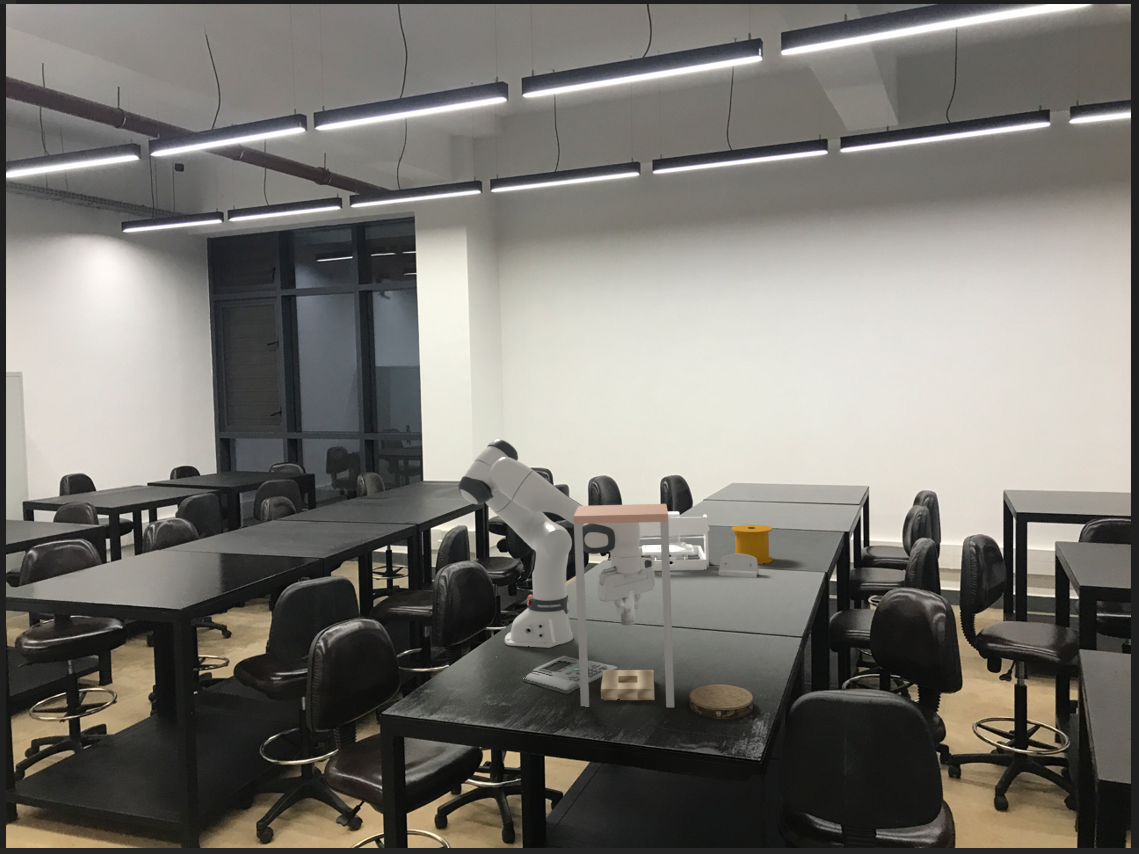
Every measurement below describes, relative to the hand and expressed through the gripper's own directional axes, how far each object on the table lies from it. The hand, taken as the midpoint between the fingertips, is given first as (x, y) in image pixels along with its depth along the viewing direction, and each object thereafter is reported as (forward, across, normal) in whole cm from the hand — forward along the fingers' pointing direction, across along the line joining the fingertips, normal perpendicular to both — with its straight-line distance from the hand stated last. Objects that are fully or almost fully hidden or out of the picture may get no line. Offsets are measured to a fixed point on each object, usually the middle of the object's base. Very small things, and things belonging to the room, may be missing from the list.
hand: (627, 611), depth 238 cm
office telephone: (+18, -16, +9) cm, 26 cm away
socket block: (+17, -12, -12) cm, 24 cm away
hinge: (+17, +112, +48) cm, 123 cm away
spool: (+17, +137, +60) cm, 151 cm away
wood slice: (+18, -3, -37) cm, 41 cm away
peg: (+4, 0, 0) cm, 4 cm away
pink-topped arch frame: (+17, -15, -14) cm, 27 cm away
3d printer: (+17, +110, +86) cm, 140 cm away
